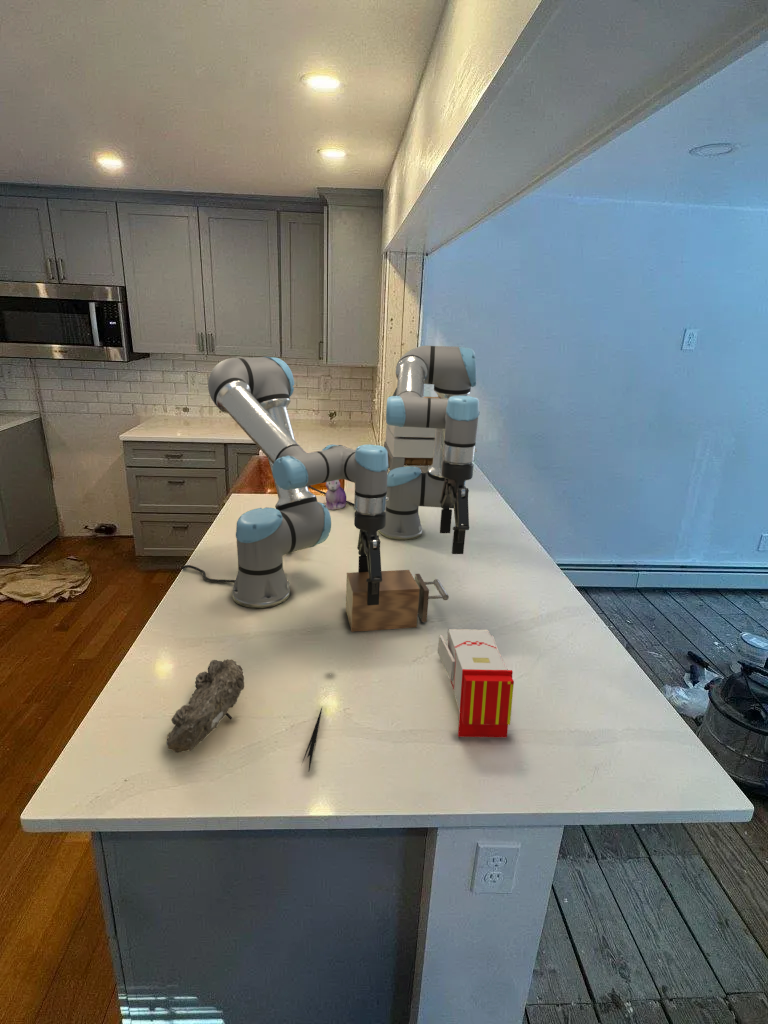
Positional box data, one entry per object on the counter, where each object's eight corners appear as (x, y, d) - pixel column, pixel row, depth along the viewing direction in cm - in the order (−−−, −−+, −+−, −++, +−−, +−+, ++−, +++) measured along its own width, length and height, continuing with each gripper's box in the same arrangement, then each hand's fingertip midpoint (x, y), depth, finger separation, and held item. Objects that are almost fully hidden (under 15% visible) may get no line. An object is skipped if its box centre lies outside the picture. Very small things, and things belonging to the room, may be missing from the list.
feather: (331, 679, 122) (336, 673, 122) (307, 777, 96) (313, 769, 95) (324, 675, 122) (329, 669, 121) (298, 772, 95) (304, 764, 95)
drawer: (436, 602, 152) (439, 572, 149) (447, 620, 144) (450, 589, 141) (361, 607, 148) (362, 576, 145) (367, 626, 139) (368, 593, 136)
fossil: (192, 660, 117) (244, 628, 112) (224, 691, 120) (276, 661, 115) (142, 746, 98) (202, 712, 93) (182, 779, 101) (242, 748, 96)
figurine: (329, 511, 218) (329, 474, 213) (319, 503, 226) (319, 467, 221) (351, 508, 222) (352, 471, 217) (341, 500, 230) (342, 465, 225)
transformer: (382, 463, 289) (386, 382, 275) (445, 464, 293) (451, 384, 279) (390, 482, 257) (394, 392, 243) (460, 483, 261) (468, 394, 247)
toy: (488, 613, 130) (523, 677, 101) (484, 667, 133) (517, 744, 104) (435, 612, 130) (455, 676, 101) (432, 666, 133) (451, 743, 103)
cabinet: (406, 606, 152) (409, 569, 148) (416, 627, 142) (419, 588, 138) (345, 610, 148) (346, 572, 145) (351, 631, 138) (352, 592, 135)
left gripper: (397, 529, 124) (393, 615, 131) (376, 494, 147) (373, 569, 154) (363, 530, 122) (361, 617, 129) (347, 495, 145) (346, 570, 152)
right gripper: (488, 476, 126) (479, 563, 133) (460, 449, 149) (453, 525, 156) (455, 475, 125) (447, 563, 132) (432, 449, 148) (426, 525, 155)
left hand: (368, 591), depth 141 cm, fingers open, 13 cm apart
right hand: (450, 542), depth 144 cm, fingers open, 13 cm apart
